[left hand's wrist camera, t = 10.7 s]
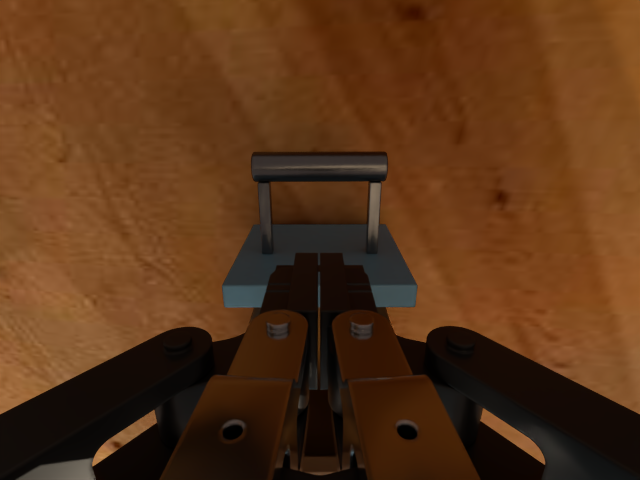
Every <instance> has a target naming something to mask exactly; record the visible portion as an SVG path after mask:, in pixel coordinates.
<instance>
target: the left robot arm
mask: <svg viewBox="0 0 640 480" xmlns="http://www.w3.org/2000/svg"><path fill="white" fill-rule="evenodd" d="M317 384H318V253H295V260H294V266H293V267H279V268H278V269H277V270H275V271H274V272H273V273H272V274H271V275H270V278H269V281H268V285H267V288H266V292H265V296H264V299H263V303H262V306H261V310H260V313H259V315H258V316H256V317H255V318H254V319H253V320H252V321H251V322H250V324H249V326H248V328H247V330H246V333H244V334H242V335H240V336H237V337H234V338H231V339H226V340H221V341H216V342H212V338H211V335H210V334H209V333H208V332H207V331H205V330H203V329H201V328H196V327H181V328H176V329H172V330H169V331H166V332H164V333H161V334H159V335H157V336H155V337H153V338H151V339H149V340H147V341H145V342H143V343H141V344H140V345H138V346H136V347H134V348H132V349H130V350H128V351H126V352H124V353H122V354H120V355H118V356H116V357H114V358H112V359H110V360H108V361H106V362H104V363H102V364H100V365H98V366H96V367H94V368H92V369H90V370H88V371H86V372H84V373H82V374H80V375H78V376H76V377H74V378H72V379H70V380H68V381H66V382H64V383H62V384H60V385H58V386H56V387H54V388H52V389H50V390H48V391H46V392H44V393H42V394H40V395H38V396H36V397H34V398H32V399H30V400H28V401H26V402H24V403H22V404H20V405H18V406H16V407H14V408H12V409H10V410H8V411H6V412H4V413H2V414H0V480H640V414H638V413H636V412H634V411H632V410H630V409H628V408H626V407H624V406H622V405H620V404H618V403H616V402H614V401H612V400H610V399H608V398H606V397H604V396H602V395H600V394H598V393H596V392H594V391H592V390H590V389H588V388H586V387H584V386H582V385H580V384H578V383H576V382H574V381H572V380H570V379H568V378H566V377H564V376H562V375H560V374H558V373H556V372H554V371H552V370H550V369H548V368H546V367H544V366H542V365H540V364H538V363H536V362H534V361H532V360H530V359H528V358H526V357H524V356H522V355H520V354H518V353H516V352H514V351H512V350H510V349H508V348H506V347H504V346H502V345H500V344H498V343H497V342H495V341H493V340H491V339H489V338H487V337H485V336H483V335H481V334H479V333H477V332H474V331H472V330H469V329H466V328H462V327H456V326H444V327H439V328H436V329H434V330H432V331H431V332H430V333H429V334H428V336H427V341H426V343H425V342H420V341H415V340H410V339H406V338H403V337H400V336H397V335H395V333H394V330H393V328H392V326H391V324H390V322H389V321H388V320H387V319H386V318H385V317H384V316H382V315H380V314H378V312H377V308H376V304H375V300H374V297H373V293H372V289H371V285H370V282H369V278H368V275H367V274H366V273H365V272H364V271H363V270H361V269H360V268H359V267H344V260H343V253H320V390H328V401H329V404H330V407H331V423H332V431H333V438H334V446H335V454H336V462H337V470H338V472H334V473H330V474H326V475H314V474H310V473H306V472H302V470H303V462H304V454H305V446H306V438H307V431H308V423H309V390H317ZM483 408H484V409H486V410H488V411H489V412H491V413H492V414H494V415H495V416H497V417H498V418H500V419H501V420H503V421H504V422H506V423H507V424H509V425H510V426H512V427H513V428H515V429H517V430H518V431H520V432H521V433H523V434H524V435H526V436H527V437H529V438H530V439H531V440H532V441H533V442H535V444H536V445H537V446H538V447H539V448H540V450H541V451H542V453H543V455H544V458H545V465H544V464H542V463H541V462H539V461H538V460H536V459H535V458H534V457H532V456H531V455H529V454H528V453H526V452H525V451H523V450H522V449H520V448H519V447H517V446H516V445H515V444H513V443H512V442H510V441H509V440H507V439H506V438H504V437H503V436H501V435H500V434H499V433H497V432H496V431H494V430H493V429H491V428H490V427H488V426H487V425H485V424H484V423H483V422H481V421H480V420H481V415H482V410H483ZM152 410H155V415H156V419H157V423H156V424H155V425H153V426H152V427H150V428H149V429H147V430H146V431H144V432H143V433H141V434H140V435H139V436H137V437H136V438H134V439H133V440H131V441H130V442H128V443H127V444H125V445H124V446H122V447H121V448H120V449H118V450H117V451H115V452H114V453H112V454H111V455H109V456H108V457H106V458H105V459H104V460H102V461H101V462H99V463H98V464H96V465H95V466H93V467H92V462H93V458H94V456H95V454H96V452H97V451H98V449H99V448H100V447H101V446H102V445H103V444H104V443H105V442H106V441H107V440H108V439H110V438H111V437H113V436H114V435H116V434H117V433H119V432H120V431H122V430H123V429H125V428H126V427H128V426H130V425H131V424H133V423H134V422H136V421H137V420H139V419H140V418H142V417H143V416H145V415H146V414H148V413H149V412H151V411H152Z"/></svg>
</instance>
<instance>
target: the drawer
mask: <svg viewBox="0 0 640 480" xmlns="http://www.w3.org/2000/svg"><path fill="white" fill-rule="evenodd" d="M251 172H252V178H253V180H254V181H255V182H258V197H259V213H260V225H253V227H252V229H251V231H250V233H249V235H248V237H247V239H246V241H245V243H244V244H243V246H242V248H241V250H240V252H239V254H238V256H237V258H236V260H235V262H234V264H233V266H232V268H231V269H230V271H229V273H228V275H227V277H226V279H225V281H224V283H223V285H222V291H223V300H224V306H225V307H254V310H253V313H252V316H251V319H250V322H251V321H252V320H253V319H254V318H255V317H256V316H258V315H259V313H260V310H261V306H262V303H263V299H264V296H265V292H266V288H267V285H268V281H269V278H270V275H271V274H272V273H273V272H274V271H275V270H277V269H278V268H279V267H293V266H294V260H295V253H318V384H317V390H309V423H308V431H307V438H306V446H305V454H304V457H336V454H335V446H334V438H333V431H332V423H331V407H330V404H329V401H328V390H320V253H343V260H344V267H359V268H360V269H361V270H363V271H364V272H365V273H366V274H367V275H368V278H369V282H370V285H371V289H372V293H373V297H374V300H375V304H376V308H377V312H378V314H380V315H382V316H384V317H385V318H386V319H387V320H388V321H389V322H390V320H389V317H388V314H387V310H386V307H415V304H416V294H417V284H416V282H415V280H414V278H413V276H412V274H411V272H410V270H409V268H408V266H407V264H406V263H405V261H404V259H403V257H402V255H401V253H400V251H399V249H398V247H397V245H396V243H395V241H394V239H393V238H392V236H391V234H390V232H389V230H388V228H387V226H386V225H385V224H379V218H380V201H381V184H382V183H381V181H385V180H386V178H387V172H388V157H387V153H386V152H253V153H252V157H251ZM343 181H369V182H368V204H367V224H273V221H272V201H271V182H343ZM250 322H249V324H250ZM390 324H391V323H390Z"/></svg>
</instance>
